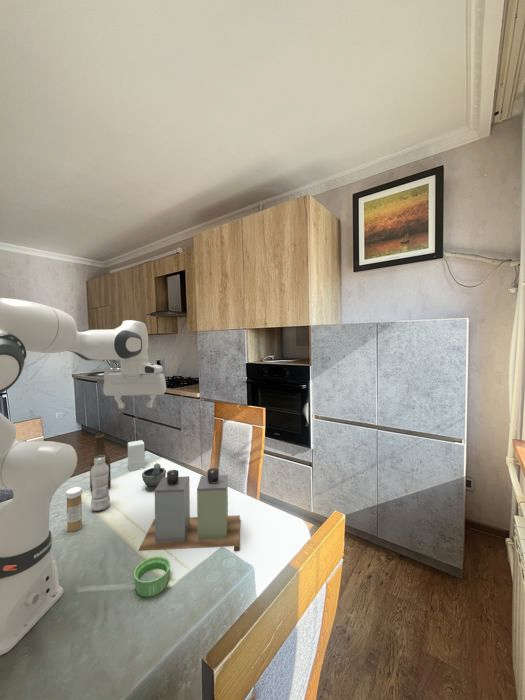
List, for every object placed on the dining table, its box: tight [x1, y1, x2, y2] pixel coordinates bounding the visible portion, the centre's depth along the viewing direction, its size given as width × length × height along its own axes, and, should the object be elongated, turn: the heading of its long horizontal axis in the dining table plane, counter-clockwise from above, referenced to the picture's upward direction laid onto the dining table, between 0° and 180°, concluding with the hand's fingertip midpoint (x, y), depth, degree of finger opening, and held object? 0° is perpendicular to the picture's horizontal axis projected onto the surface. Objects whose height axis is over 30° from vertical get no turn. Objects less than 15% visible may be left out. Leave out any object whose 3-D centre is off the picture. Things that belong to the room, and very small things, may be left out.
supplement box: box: [127, 439, 146, 472], centre depth 152 cm, size 7×7×13 cm
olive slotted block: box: [196, 474, 229, 540], centre depth 97 cm, size 9×9×16 cm
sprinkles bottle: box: [65, 486, 83, 533], centre depth 101 cm, size 5×5×13 cm
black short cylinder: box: [166, 469, 180, 485], centre depth 97 cm, size 7×7×19 cm
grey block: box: [154, 476, 191, 542], centre depth 97 cm, size 9×9×16 cm
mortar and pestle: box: [141, 462, 167, 492], centre depth 130 cm, size 11×9×12 cm
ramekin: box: [133, 555, 171, 598], centre depth 78 cm, size 9×9×4 cm
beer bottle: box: [89, 433, 112, 493], centre depth 128 cm, size 8×8×24 cm
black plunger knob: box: [206, 467, 220, 483], centre depth 97 cm, size 7×7×19 cm
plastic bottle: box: [89, 455, 111, 512], centre depth 114 cm, size 6×7×20 cm
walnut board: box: [138, 515, 241, 552], centre depth 97 cm, size 16×30×2 cm, turn 94°
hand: (135, 408), depth 102 cm, fingers open, 8 cm apart
